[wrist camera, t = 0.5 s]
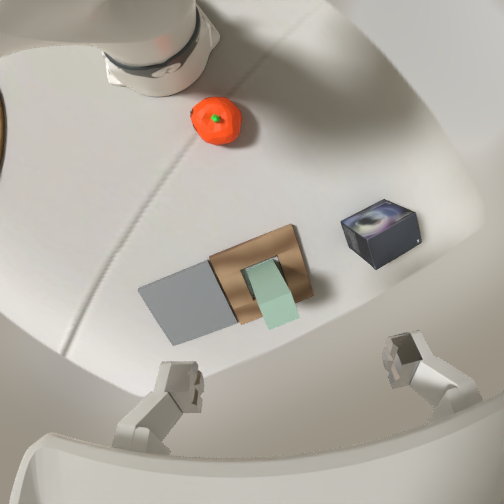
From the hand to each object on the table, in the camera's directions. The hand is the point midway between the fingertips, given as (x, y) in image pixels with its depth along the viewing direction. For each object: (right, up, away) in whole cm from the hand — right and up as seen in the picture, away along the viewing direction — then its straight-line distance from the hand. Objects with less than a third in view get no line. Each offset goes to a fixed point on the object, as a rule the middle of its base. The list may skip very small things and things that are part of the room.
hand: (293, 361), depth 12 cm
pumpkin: (-7, +25, +31) cm, 40 cm away
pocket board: (0, 0, +42) cm, 42 cm away
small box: (+20, +10, +42) cm, 47 cm away
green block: (0, 0, +42) cm, 42 cm away
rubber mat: (-13, -5, +42) cm, 44 cm away
